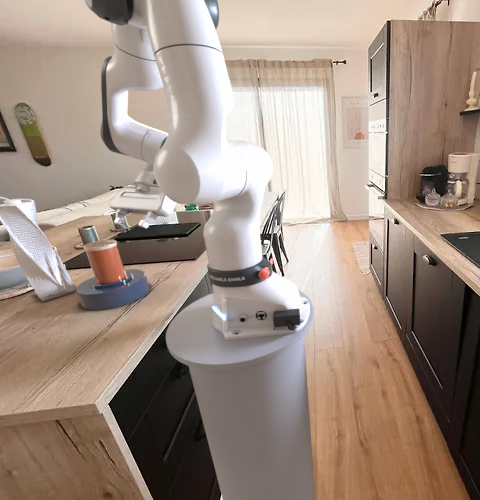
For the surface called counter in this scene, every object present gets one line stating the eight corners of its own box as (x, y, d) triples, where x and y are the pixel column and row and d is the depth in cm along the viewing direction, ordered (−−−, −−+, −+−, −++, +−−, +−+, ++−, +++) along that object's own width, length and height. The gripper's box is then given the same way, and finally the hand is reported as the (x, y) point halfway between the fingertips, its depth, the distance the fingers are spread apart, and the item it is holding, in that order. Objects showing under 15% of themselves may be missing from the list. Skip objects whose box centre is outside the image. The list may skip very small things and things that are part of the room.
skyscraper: (35, 304, 76) (-13, 198, 66) (27, 295, 80) (-20, 195, 70) (76, 291, 82) (38, 193, 72) (67, 283, 86) (29, 190, 76)
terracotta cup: (132, 272, 81) (122, 239, 78) (114, 284, 75) (102, 248, 71) (109, 272, 81) (97, 239, 78) (88, 284, 75) (75, 248, 71)
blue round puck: (160, 282, 87) (156, 266, 85) (124, 310, 73) (118, 291, 71) (111, 282, 87) (106, 266, 85) (65, 310, 73) (58, 291, 71)
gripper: (117, 178, 86) (92, 217, 81) (170, 180, 81) (147, 223, 76) (135, 190, 92) (113, 228, 87) (186, 193, 87) (166, 234, 81)
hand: (129, 225), depth 81 cm, fingers open, 8 cm apart
